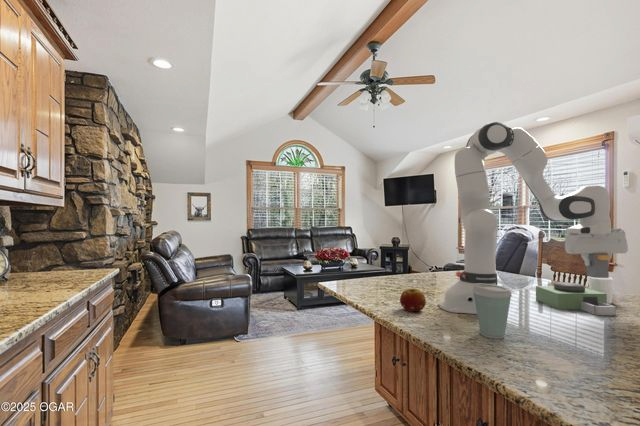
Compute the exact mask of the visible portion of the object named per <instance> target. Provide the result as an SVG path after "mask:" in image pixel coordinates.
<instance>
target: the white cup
mask: <svg viewBox="0 0 640 426" xmlns="http://www.w3.org/2000/svg"><path fill="white" fill-rule="evenodd" d="M587 279H588V289H591V290H595V291H598V292H602V293H605V294H607V304H609V305H611V304H612V303H613V295H614V294H613V293H614V279H613V278H612V277H609V278H595V277H590V276H587Z"/></svg>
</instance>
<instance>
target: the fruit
mask: <svg viewBox="0 0 640 426" xmlns="http://www.w3.org/2000/svg"><path fill="white" fill-rule="evenodd" d="M426 302H427V299H426V296H425V294H424V292H423V291H421V290H420V289H418V288H408V289H405V290H403V291H402V293H400V296H399V303H400V306H401V307H402V308H403V309H405V310H406V311H408V312H412V313H417V312H420V311H422V310H423V309H424V308H425V306H426V304H427V303H426Z"/></svg>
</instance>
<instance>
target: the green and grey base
mask: <svg viewBox="0 0 640 426" xmlns="http://www.w3.org/2000/svg"><path fill="white" fill-rule="evenodd" d="M535 300H536V301H538V302H540V303H543V304H545V305H547V306H550V307H552V308H554V309H557V310H582V311H584V312H587V313H589V314H593V315H595V316H617V306H615V305H612V304H607V294H605V293H602V292H598V291H595V290H591V289H589V287H586V286H585V285H584V284H580V283H575V282H563V281H560V282H559V281H557V282H556V281H555V282H554V283H553V285H535Z"/></svg>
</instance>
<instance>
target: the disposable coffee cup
mask: <svg viewBox="0 0 640 426" xmlns="http://www.w3.org/2000/svg"><path fill="white" fill-rule="evenodd" d="M473 293H474V298H475V304H476V311H477V314H476V315H477V322H478V323H477V324H478V328H479V332H480V335H482V337H486V338H488V339H496V340H499V339H503V338H504V336H505V335H506V331H507V330H506V329H507V324H508V323H507V322H508V316H509V311H510V310H509V309H510V305H511V297H512V292H511V290H510V289H509V288H507V287H505V286H503V285H502V286H501V285H499V284H497V285H492V284H484V283H476V284H475V287H473Z"/></svg>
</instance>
